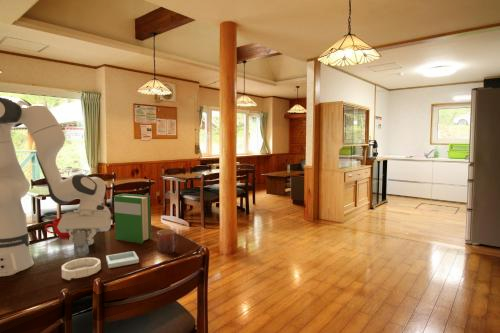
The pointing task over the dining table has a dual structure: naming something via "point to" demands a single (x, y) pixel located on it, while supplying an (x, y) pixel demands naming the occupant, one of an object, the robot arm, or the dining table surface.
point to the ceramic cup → (55, 224)
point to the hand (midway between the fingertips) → (80, 240)
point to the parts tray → (122, 259)
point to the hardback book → (132, 217)
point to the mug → (166, 240)
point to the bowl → (80, 268)
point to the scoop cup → (80, 242)
